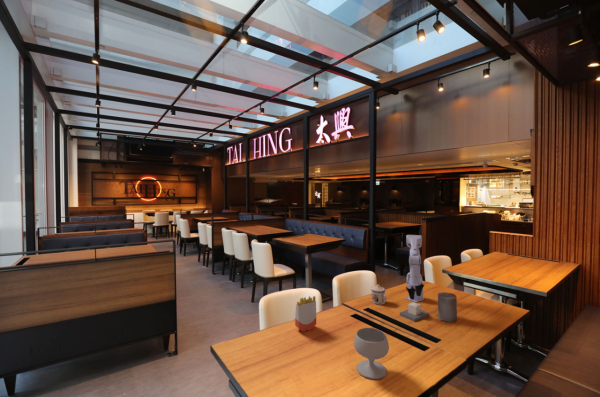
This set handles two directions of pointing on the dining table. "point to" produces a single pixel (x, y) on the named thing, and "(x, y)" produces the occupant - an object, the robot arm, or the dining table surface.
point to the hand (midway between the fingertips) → (415, 297)
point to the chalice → (371, 352)
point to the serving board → (414, 317)
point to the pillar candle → (447, 307)
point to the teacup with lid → (378, 295)
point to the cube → (414, 308)
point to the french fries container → (305, 314)
